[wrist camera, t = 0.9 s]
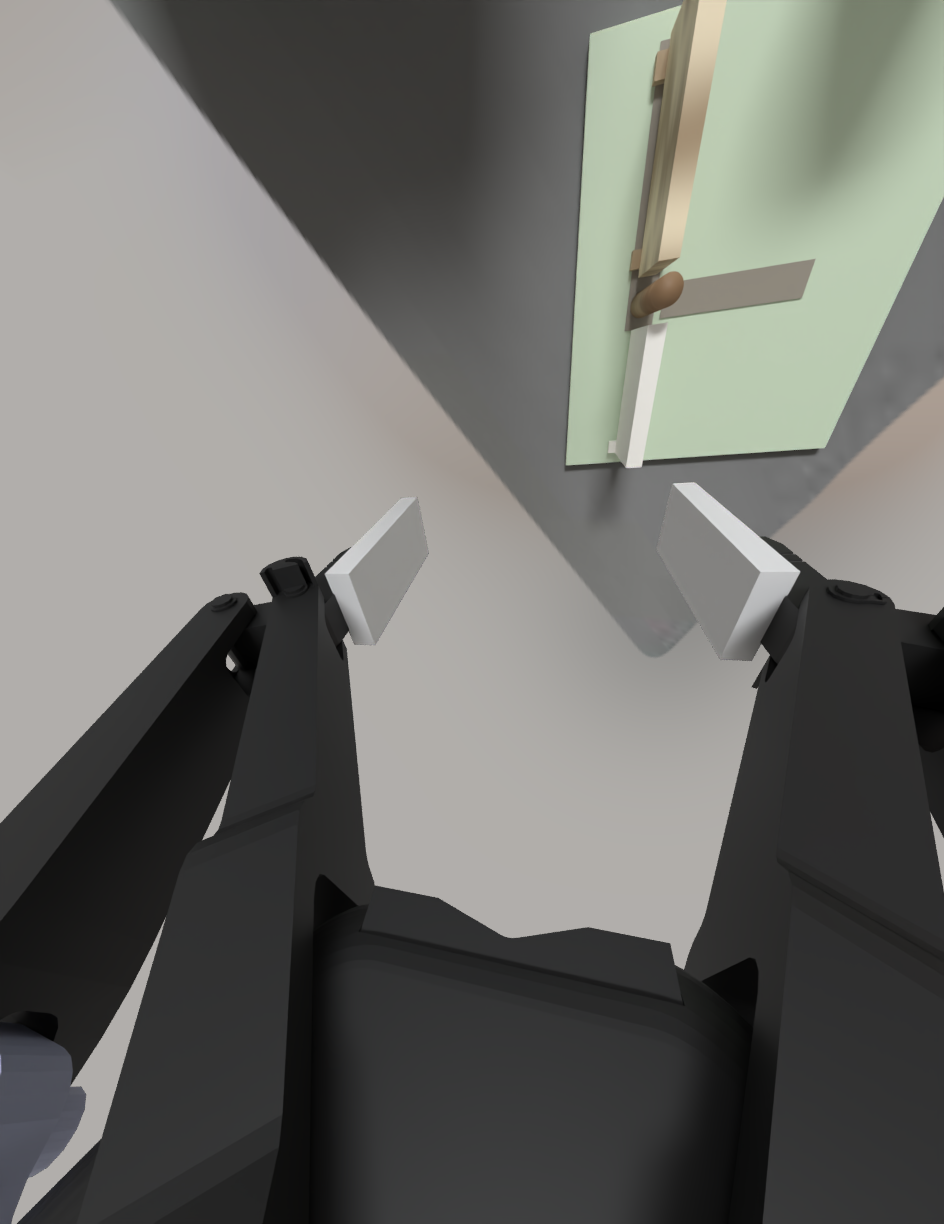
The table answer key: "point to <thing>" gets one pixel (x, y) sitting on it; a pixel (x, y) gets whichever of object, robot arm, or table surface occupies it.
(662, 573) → the table surface
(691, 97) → the fence fixed
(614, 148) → the card
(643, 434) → the panel
